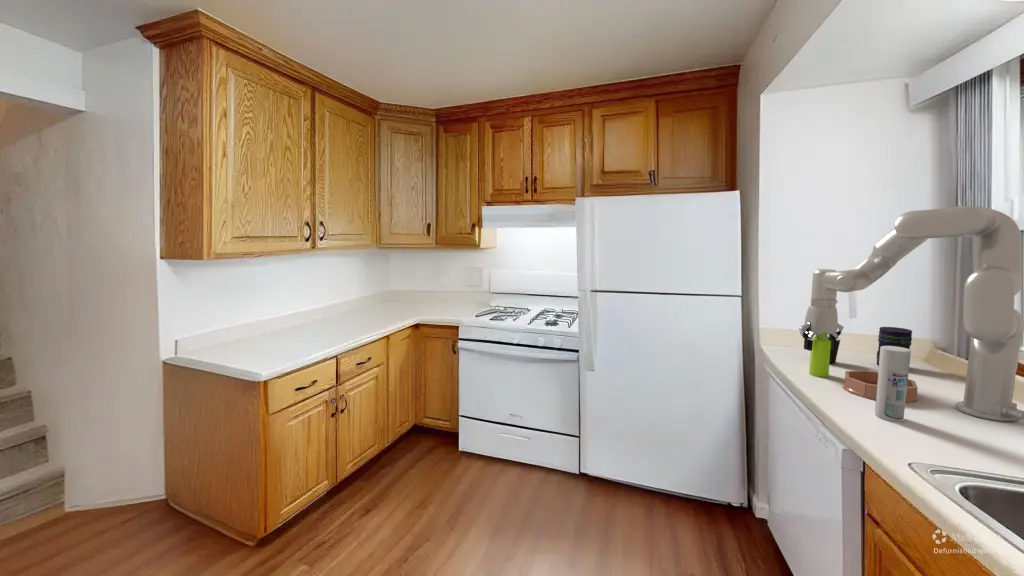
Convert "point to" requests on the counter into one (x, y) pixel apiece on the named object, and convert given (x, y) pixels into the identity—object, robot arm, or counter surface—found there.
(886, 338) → the storage jar
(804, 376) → the counter surface
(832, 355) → the coffee mug
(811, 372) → the soap dispenser
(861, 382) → the bowl
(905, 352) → the spray can
